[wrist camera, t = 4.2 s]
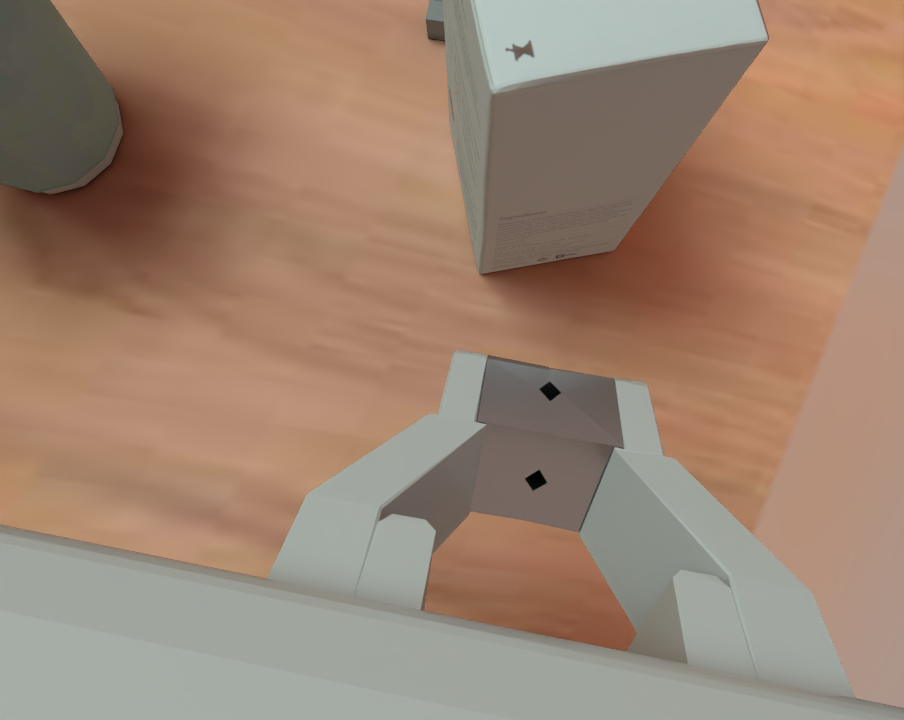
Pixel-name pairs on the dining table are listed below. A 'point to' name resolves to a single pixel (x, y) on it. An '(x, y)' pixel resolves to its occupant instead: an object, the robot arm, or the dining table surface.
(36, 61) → the disposable coffee cup
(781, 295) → the dining table surface
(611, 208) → the small box
